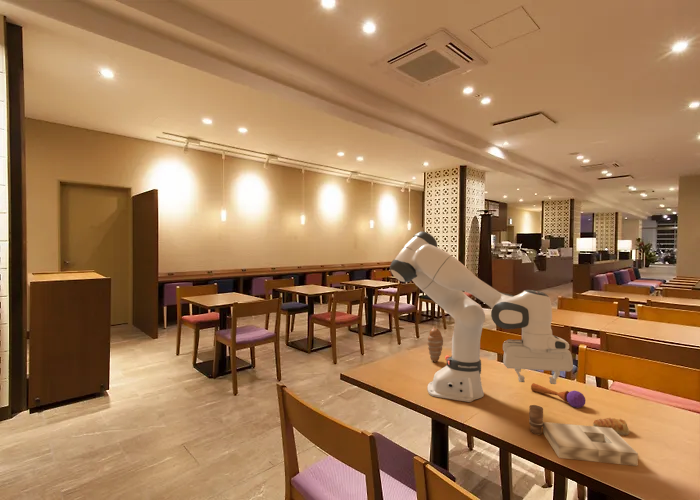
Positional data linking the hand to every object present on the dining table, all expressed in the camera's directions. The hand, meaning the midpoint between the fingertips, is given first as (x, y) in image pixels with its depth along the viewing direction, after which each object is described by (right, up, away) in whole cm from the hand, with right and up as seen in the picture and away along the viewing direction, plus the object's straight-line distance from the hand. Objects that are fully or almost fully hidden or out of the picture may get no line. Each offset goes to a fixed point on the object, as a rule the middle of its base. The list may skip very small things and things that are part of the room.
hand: (537, 382), depth 118 cm
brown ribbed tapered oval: (-17, -15, +70) cm, 74 cm away
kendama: (+21, -16, +25) cm, 36 cm away
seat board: (+10, -17, -9) cm, 21 cm away
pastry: (+26, -17, +2) cm, 31 cm away
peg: (0, -16, +1) cm, 16 cm away
